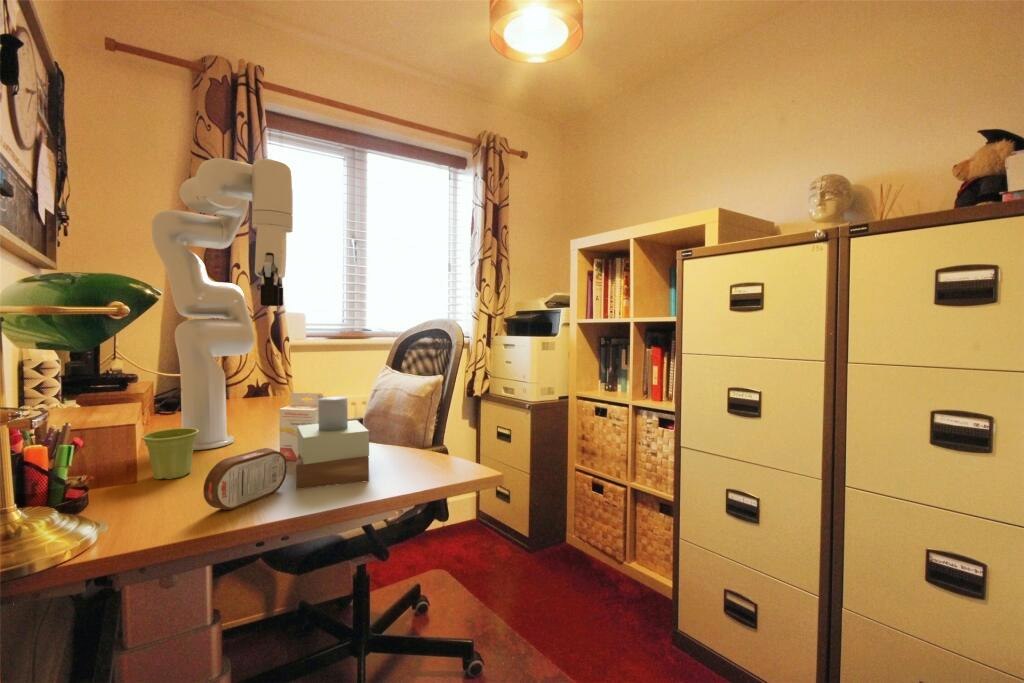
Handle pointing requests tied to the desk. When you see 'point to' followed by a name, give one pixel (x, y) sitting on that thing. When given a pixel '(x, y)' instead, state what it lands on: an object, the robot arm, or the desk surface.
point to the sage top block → (332, 443)
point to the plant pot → (171, 451)
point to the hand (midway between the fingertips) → (272, 305)
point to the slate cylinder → (333, 413)
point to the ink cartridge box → (297, 421)
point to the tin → (245, 478)
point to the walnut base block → (331, 472)
